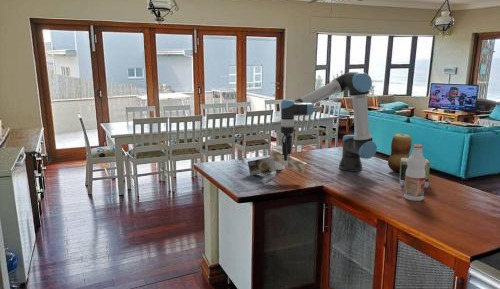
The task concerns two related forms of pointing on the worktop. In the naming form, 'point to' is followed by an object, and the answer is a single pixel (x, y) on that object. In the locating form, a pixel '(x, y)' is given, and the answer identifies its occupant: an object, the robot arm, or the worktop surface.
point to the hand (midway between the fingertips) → (286, 165)
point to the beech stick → (292, 161)
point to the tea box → (404, 166)
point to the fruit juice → (415, 175)
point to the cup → (278, 165)
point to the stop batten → (269, 177)
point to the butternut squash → (399, 151)
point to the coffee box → (261, 166)
